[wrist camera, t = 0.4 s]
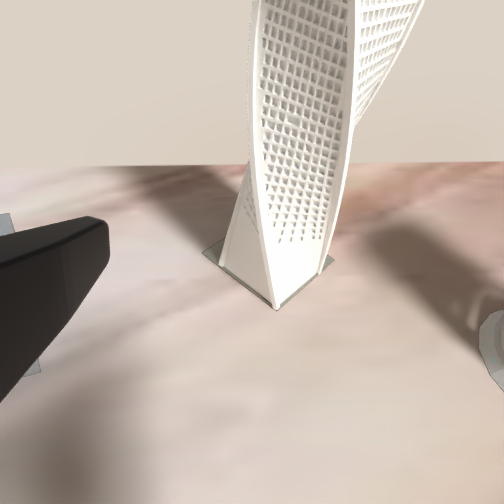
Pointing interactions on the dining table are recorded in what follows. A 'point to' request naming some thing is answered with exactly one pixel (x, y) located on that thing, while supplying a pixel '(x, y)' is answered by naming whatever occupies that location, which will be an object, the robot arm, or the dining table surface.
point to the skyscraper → (304, 132)
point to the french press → (493, 345)
